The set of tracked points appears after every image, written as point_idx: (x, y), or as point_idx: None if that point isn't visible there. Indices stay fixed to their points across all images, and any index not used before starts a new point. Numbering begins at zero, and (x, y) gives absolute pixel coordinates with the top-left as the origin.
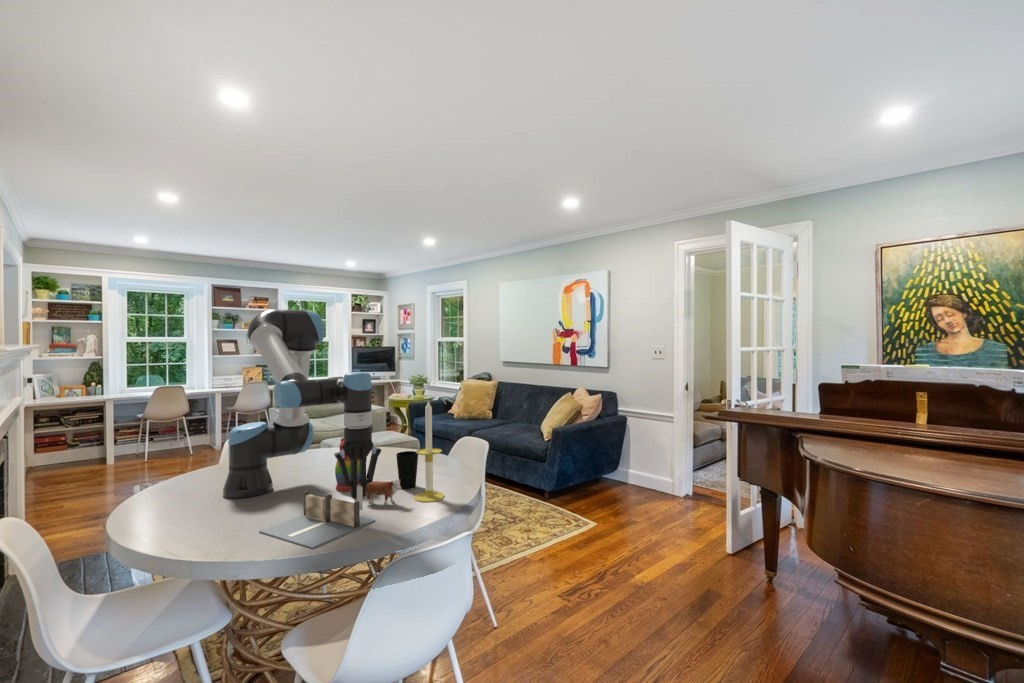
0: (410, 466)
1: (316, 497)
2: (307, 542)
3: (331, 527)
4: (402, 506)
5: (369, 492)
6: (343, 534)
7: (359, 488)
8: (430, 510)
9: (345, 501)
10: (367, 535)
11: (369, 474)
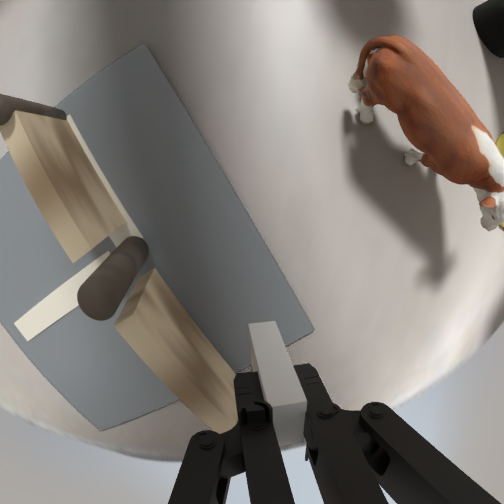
0: None
1: (41, 204)
2: (80, 400)
3: None
4: (443, 216)
5: (383, 103)
6: None
7: (283, 439)
8: (473, 302)
9: (195, 394)
10: None
11: (377, 476)
